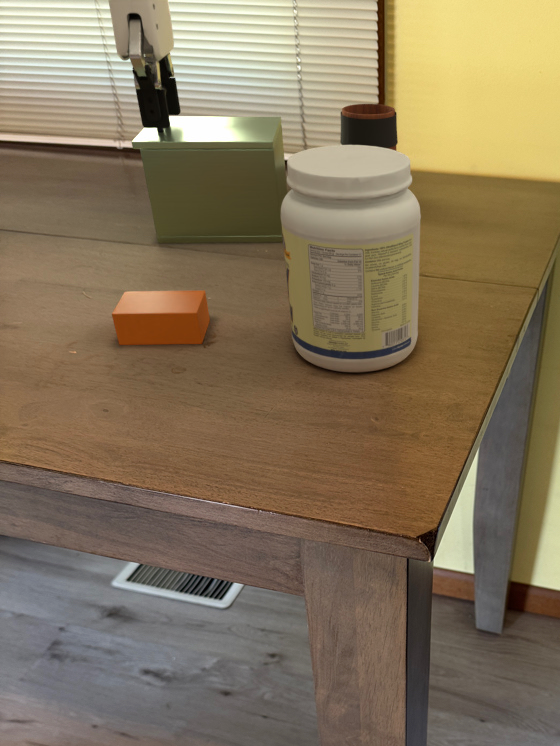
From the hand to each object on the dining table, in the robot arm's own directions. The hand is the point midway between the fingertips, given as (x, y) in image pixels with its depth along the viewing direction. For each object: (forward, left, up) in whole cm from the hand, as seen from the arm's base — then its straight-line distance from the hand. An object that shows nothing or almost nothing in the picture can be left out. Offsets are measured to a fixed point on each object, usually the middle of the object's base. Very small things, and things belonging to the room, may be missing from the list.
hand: (162, 119), depth 92 cm
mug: (+25, +13, -13) cm, 31 cm away
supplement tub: (+23, -37, -13) cm, 45 cm away
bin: (+6, 0, -13) cm, 14 cm away
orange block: (+4, -33, -13) cm, 36 cm away
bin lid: (+6, 0, -2) cm, 6 cm away
